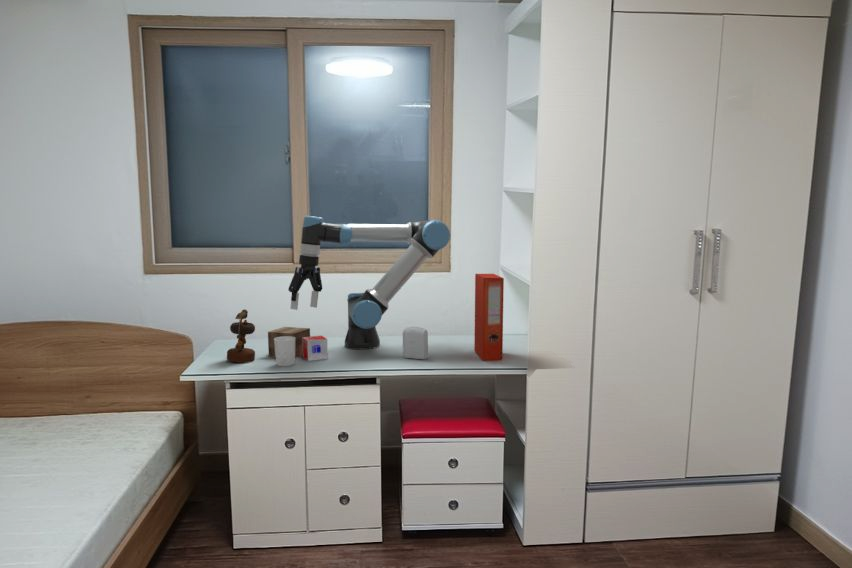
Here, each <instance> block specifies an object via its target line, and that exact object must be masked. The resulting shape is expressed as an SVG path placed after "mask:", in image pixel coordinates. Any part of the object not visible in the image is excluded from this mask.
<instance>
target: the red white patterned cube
mask: <svg viewBox="0 0 852 568" xmlns="http://www.w3.org/2000/svg"><path fill="white" fill-rule="evenodd" d="M302 346H303V356H302V357H303V358H304V359H305V360H306V361H318V360H327V359H328V358H329V356H328V353H329V352H328V338H327V337H325V336H324V335H313V336H312V335H310V337H302Z"/></svg>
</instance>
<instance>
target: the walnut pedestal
mask: <svg viewBox="0 0 852 568" xmlns="http://www.w3.org/2000/svg"><path fill="white" fill-rule="evenodd" d="M284 336H291V337H295V359H297V358H299V357H303V346H302V337H311V328H310V327H309V328H308V327H295V326H294V327H292V326H282V327H279V328H276V329H273V330H270V331H267V341H268V342H267V344H268V357H269V356H270V358H276V356H275V344H274V338H277V337H284Z"/></svg>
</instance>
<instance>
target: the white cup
mask: <svg viewBox="0 0 852 568" xmlns="http://www.w3.org/2000/svg"><path fill="white" fill-rule="evenodd" d="M274 344H275V356H276V357H275V362H276V365H277V366H279V367H290V366H294V365H295V364H296V363H295V361H296V358H295V337H291V336H284V337H277V338H274Z"/></svg>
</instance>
